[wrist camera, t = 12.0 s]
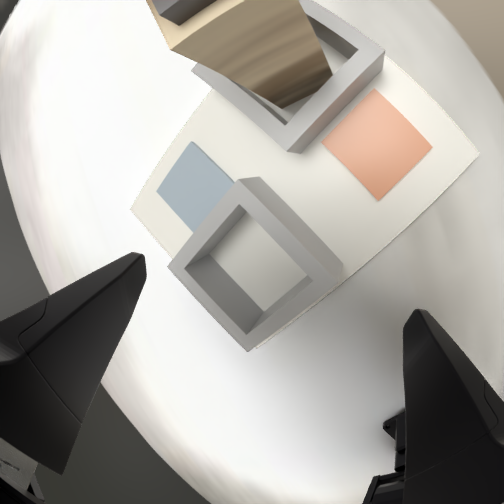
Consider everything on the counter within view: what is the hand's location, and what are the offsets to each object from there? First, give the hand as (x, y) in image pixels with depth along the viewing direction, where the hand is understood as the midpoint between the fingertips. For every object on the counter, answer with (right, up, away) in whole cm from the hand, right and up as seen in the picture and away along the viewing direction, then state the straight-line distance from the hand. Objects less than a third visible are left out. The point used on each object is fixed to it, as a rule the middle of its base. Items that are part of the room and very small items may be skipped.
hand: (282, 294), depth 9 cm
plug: (+2, +13, +8) cm, 15 cm away
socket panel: (+1, +6, +11) cm, 13 cm away
